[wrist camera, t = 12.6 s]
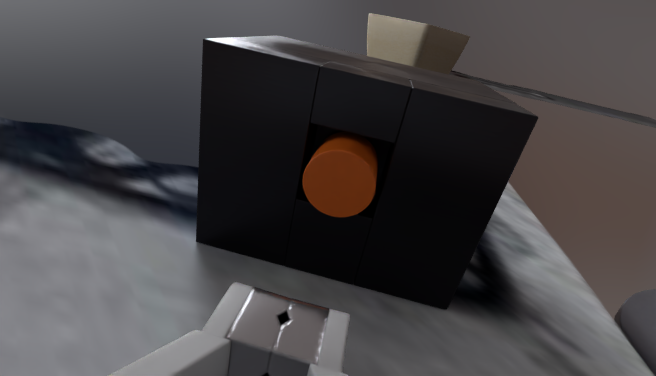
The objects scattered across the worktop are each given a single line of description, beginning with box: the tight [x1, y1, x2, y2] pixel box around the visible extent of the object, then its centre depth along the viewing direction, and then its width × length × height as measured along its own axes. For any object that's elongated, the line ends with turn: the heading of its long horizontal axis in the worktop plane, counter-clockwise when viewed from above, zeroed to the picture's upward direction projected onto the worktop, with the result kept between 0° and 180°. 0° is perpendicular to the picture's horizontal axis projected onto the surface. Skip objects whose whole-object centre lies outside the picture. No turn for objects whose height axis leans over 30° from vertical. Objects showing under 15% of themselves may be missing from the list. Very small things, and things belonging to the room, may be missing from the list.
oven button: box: [303, 132, 378, 217], centre depth 18 cm, size 4×3×4 cm
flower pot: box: [367, 13, 470, 74], centre depth 90 cm, size 19×19×17 cm
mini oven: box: [196, 36, 538, 310], centre depth 24 cm, size 17×12×12 cm
